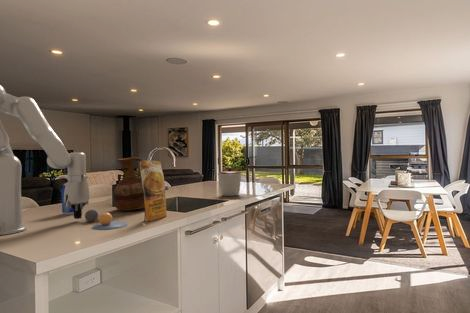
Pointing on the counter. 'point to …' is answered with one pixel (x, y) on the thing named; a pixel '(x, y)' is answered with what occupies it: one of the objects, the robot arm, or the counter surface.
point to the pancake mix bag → (153, 189)
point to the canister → (229, 182)
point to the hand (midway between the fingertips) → (77, 218)
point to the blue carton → (65, 209)
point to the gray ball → (91, 215)
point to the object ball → (105, 218)
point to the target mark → (109, 226)
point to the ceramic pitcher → (129, 187)
